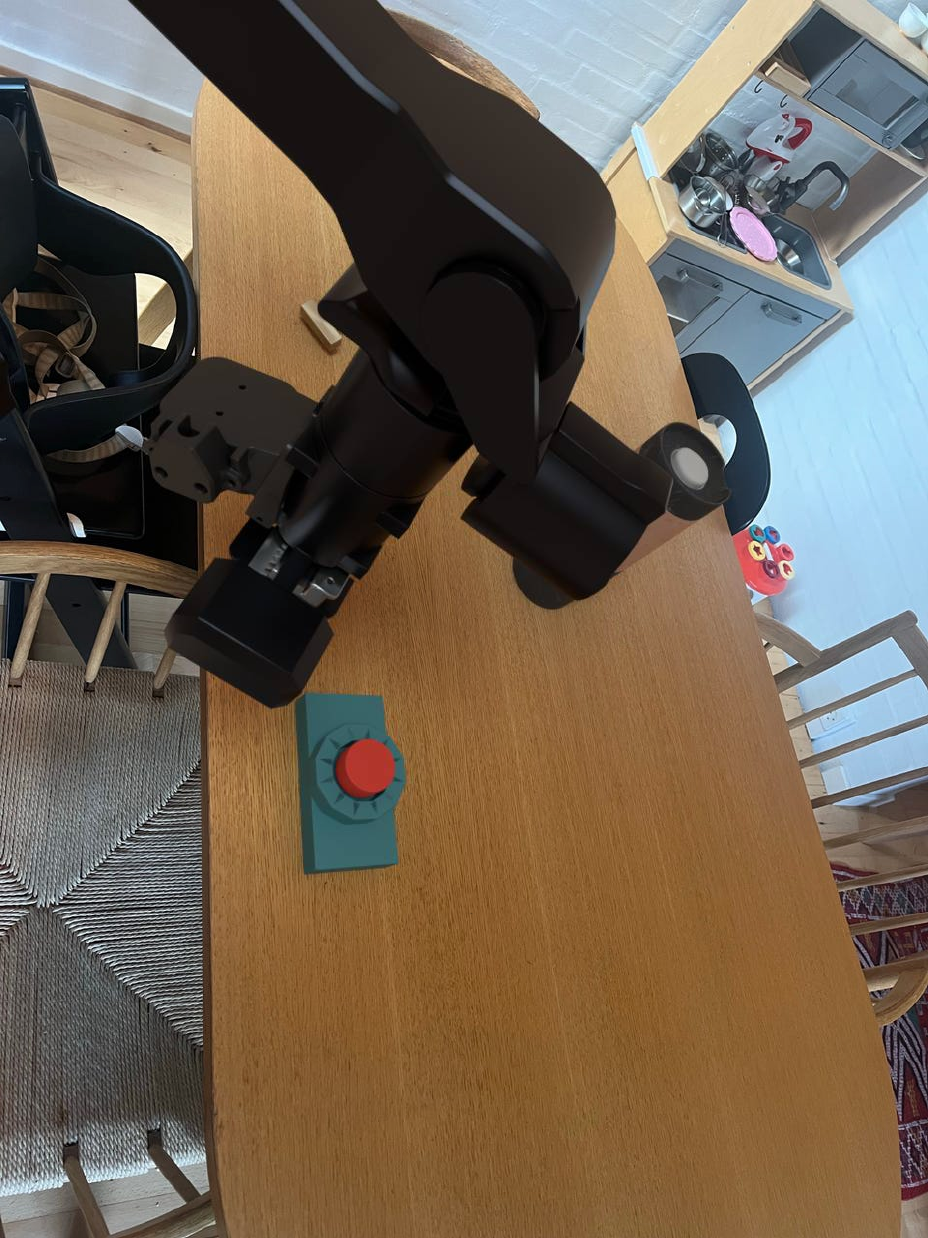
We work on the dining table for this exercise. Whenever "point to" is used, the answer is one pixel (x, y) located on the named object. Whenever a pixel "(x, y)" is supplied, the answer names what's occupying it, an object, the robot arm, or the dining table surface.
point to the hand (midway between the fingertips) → (268, 594)
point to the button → (365, 768)
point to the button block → (329, 815)
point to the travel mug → (688, 502)
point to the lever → (320, 326)
